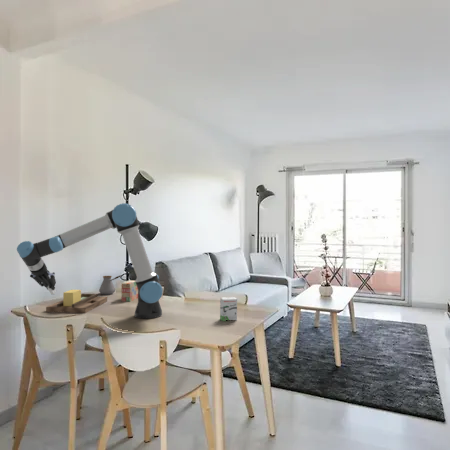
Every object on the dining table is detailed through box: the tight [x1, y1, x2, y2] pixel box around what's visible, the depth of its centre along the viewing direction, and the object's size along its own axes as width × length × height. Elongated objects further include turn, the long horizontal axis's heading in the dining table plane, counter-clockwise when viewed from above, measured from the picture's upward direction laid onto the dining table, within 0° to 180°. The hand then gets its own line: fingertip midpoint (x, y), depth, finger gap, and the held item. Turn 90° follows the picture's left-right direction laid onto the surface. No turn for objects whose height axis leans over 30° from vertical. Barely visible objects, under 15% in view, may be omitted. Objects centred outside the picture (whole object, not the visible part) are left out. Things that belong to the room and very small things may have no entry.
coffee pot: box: [98, 274, 124, 296], centre depth 278 cm, size 21×12×15 cm, turn 58°
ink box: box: [219, 296, 238, 322], centre depth 208 cm, size 9×5×12 cm, turn 103°
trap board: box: [45, 293, 108, 314], centre depth 239 cm, size 24×32×5 cm
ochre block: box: [62, 289, 82, 306], centre depth 231 cm, size 6×10×8 cm, turn 175°
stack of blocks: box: [121, 279, 138, 303], centre depth 265 cm, size 21×6×12 cm, turn 170°
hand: (53, 292), depth 211 cm, fingers closed
